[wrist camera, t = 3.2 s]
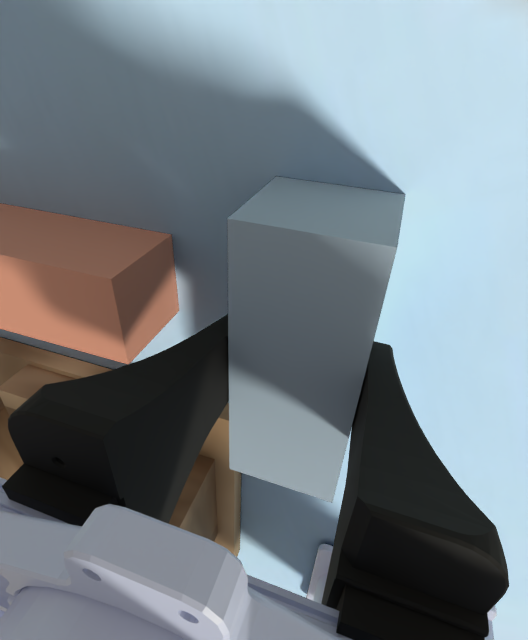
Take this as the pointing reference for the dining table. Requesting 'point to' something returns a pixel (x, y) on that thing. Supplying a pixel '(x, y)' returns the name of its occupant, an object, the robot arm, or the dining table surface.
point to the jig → (204, 479)
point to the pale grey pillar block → (303, 324)
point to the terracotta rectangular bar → (84, 282)
